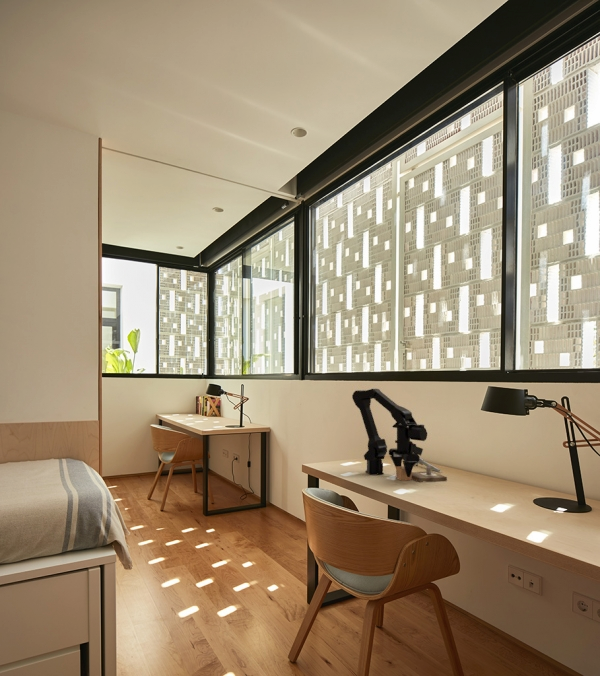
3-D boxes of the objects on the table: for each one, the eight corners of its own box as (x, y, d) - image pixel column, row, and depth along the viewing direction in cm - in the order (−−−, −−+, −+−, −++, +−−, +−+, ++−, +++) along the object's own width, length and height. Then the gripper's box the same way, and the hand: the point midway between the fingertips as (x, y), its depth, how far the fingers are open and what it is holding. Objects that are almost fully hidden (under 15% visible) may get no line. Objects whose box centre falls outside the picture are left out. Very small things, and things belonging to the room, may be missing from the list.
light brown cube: (401, 480, 198) (401, 468, 198) (396, 478, 203) (396, 466, 203) (411, 480, 199) (411, 468, 199) (406, 477, 204) (406, 466, 204)
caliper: (413, 465, 234) (412, 453, 235) (414, 465, 235) (414, 453, 235) (440, 473, 216) (439, 459, 216) (442, 473, 216) (441, 459, 217)
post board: (419, 481, 195) (419, 468, 196) (405, 475, 208) (405, 463, 208) (446, 480, 198) (446, 467, 199) (431, 474, 211) (431, 462, 211)
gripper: (430, 441, 195) (431, 478, 194) (410, 435, 213) (410, 470, 212) (406, 441, 193) (407, 479, 191) (388, 436, 211) (388, 470, 209)
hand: (403, 474), depth 201 cm, fingers open, 9 cm apart
